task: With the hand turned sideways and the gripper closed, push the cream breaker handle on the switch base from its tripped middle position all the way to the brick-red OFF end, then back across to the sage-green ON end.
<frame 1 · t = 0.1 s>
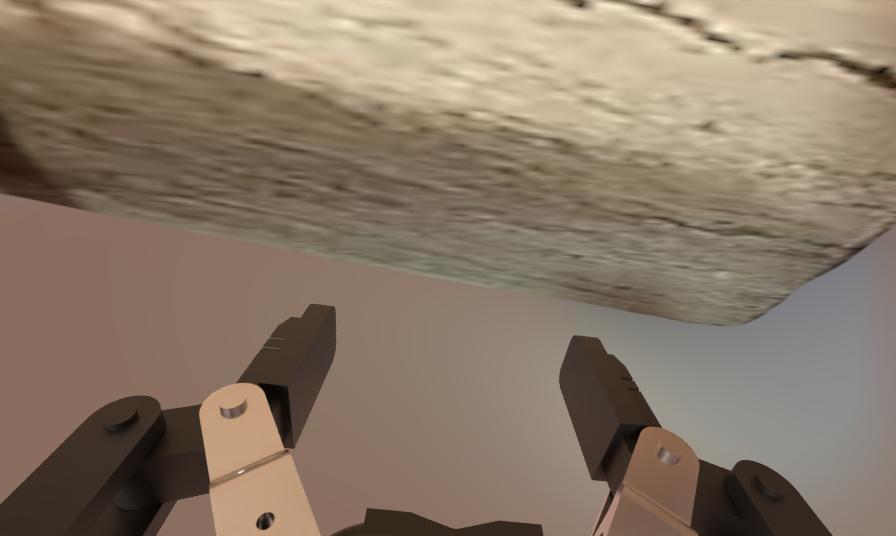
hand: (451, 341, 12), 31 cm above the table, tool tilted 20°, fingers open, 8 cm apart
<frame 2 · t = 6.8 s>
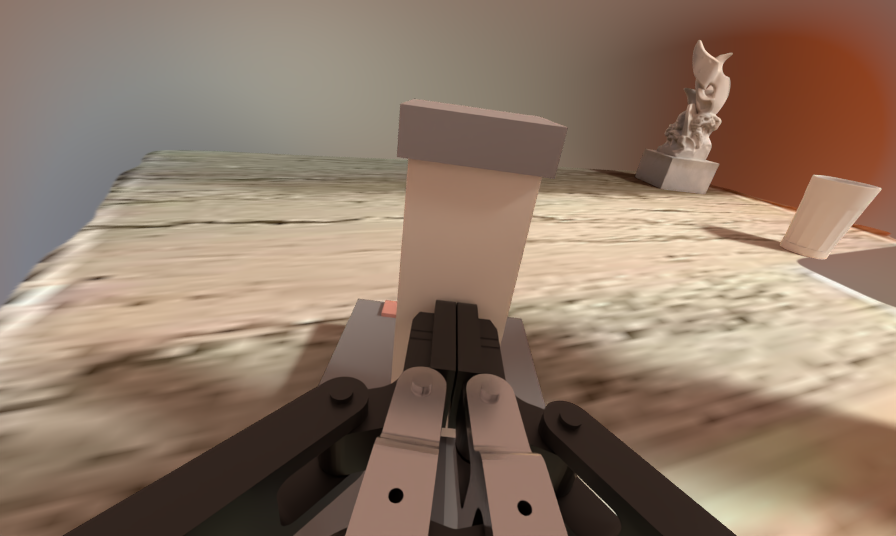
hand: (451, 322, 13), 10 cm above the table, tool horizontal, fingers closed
sculpture: (667, 185, 103), on the table
breaker handle: (452, 290, 14), point 10 cm above the table, slide at -1.2 cm, touching gripper
switch base: (424, 481, 18), on the table
cup: (801, 252, 62), on the table
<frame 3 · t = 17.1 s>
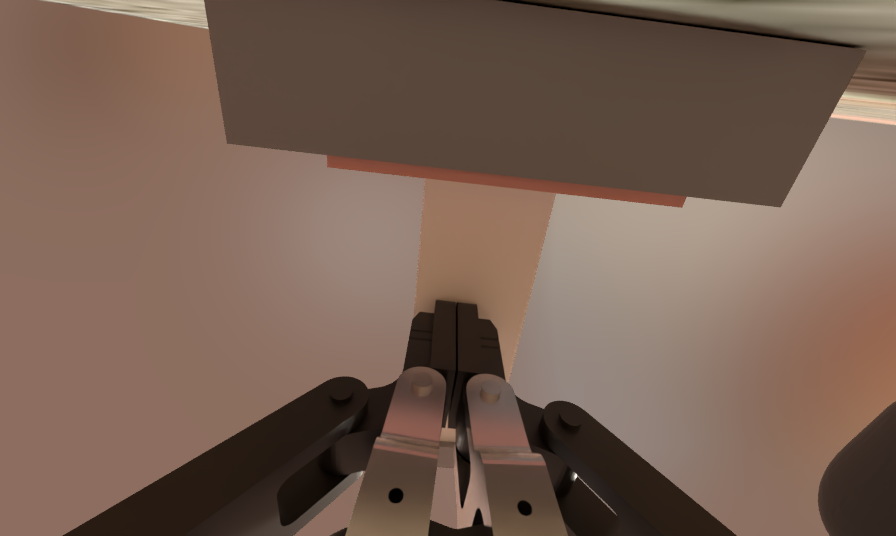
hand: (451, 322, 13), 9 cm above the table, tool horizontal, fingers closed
breaker handle: (462, 327, 15), point 10 cm above the table, slide at -6.4 cm
switch base: (489, 52, 16), on the table
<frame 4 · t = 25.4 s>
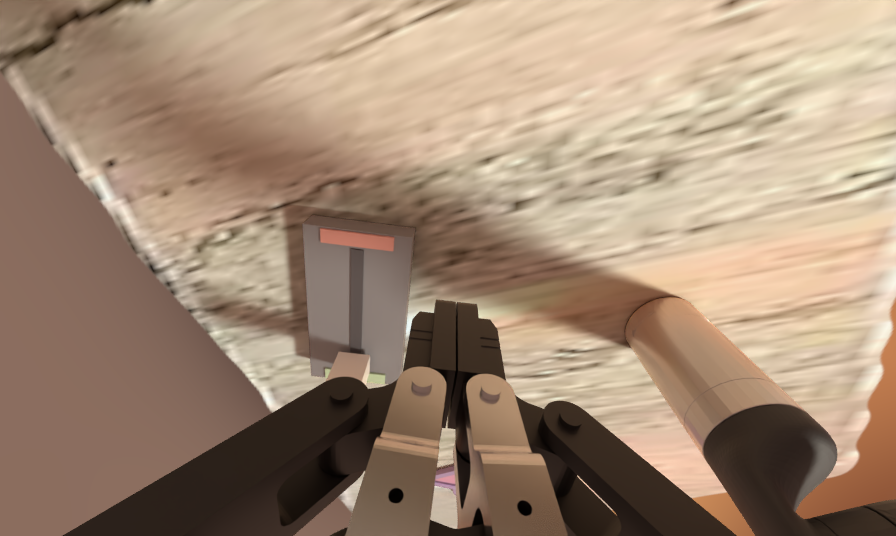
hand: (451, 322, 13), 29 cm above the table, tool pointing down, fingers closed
breaker handle: (339, 402, 41), point 10 cm above the table, slide at 7.0 cm
switch base: (362, 300, 47), on the table
icon: (492, 459, 62), on the table
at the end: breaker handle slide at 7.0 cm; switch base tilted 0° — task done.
